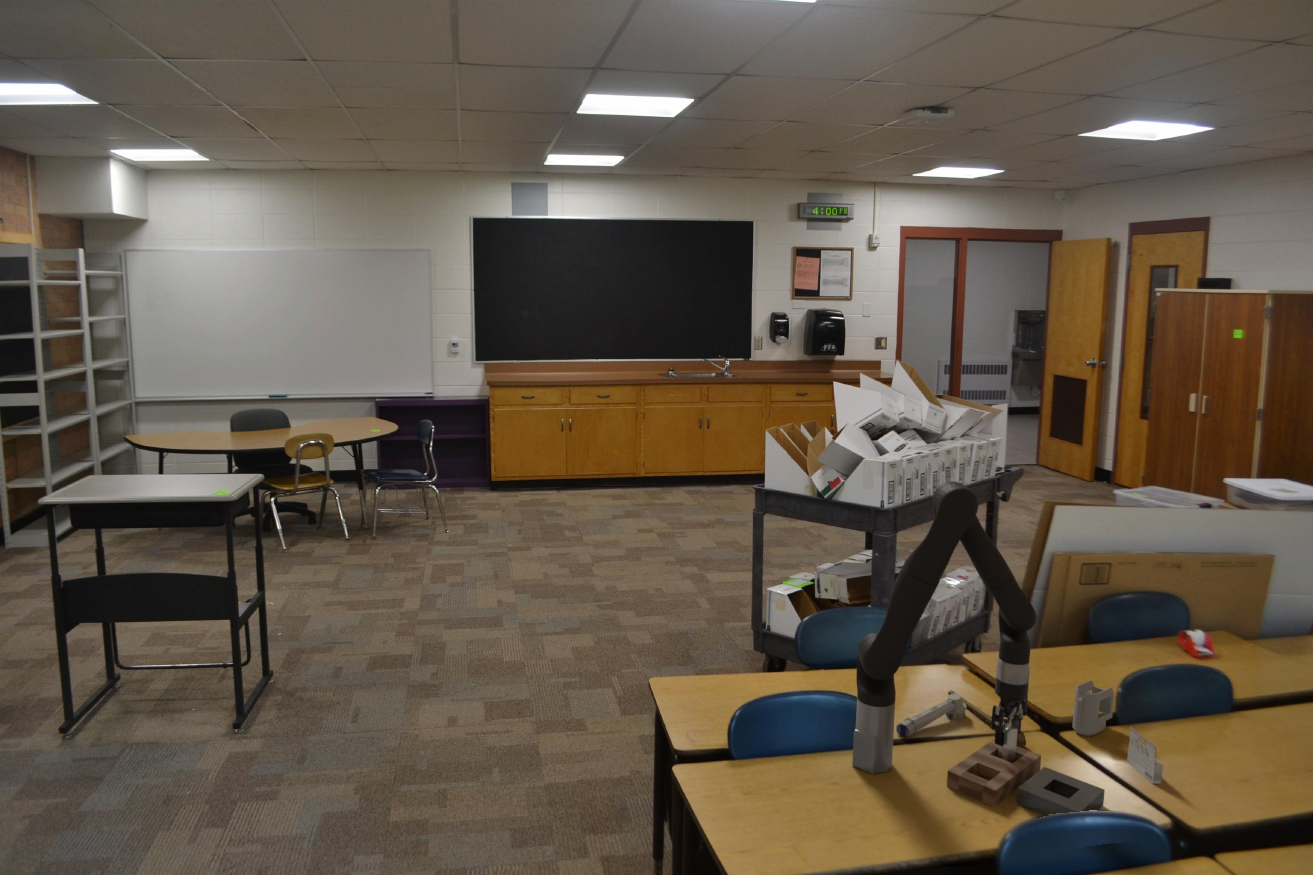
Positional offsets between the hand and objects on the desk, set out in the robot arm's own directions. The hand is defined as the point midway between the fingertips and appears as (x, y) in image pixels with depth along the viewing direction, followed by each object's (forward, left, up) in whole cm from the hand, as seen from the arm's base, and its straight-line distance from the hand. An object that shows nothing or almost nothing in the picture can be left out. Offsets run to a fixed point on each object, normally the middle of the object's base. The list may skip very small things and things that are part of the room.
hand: (1007, 738), depth 227 cm
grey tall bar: (0, 0, -8) cm, 8 cm away
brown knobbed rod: (+21, +16, -9) cm, 28 cm away
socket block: (-6, -16, -8) cm, 19 cm away
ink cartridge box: (+24, -24, -8) cm, 35 cm away
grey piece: (+9, +25, -9) cm, 28 cm away
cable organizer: (+38, -6, -8) cm, 39 cm away
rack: (-6, 0, -8) cm, 10 cm away
